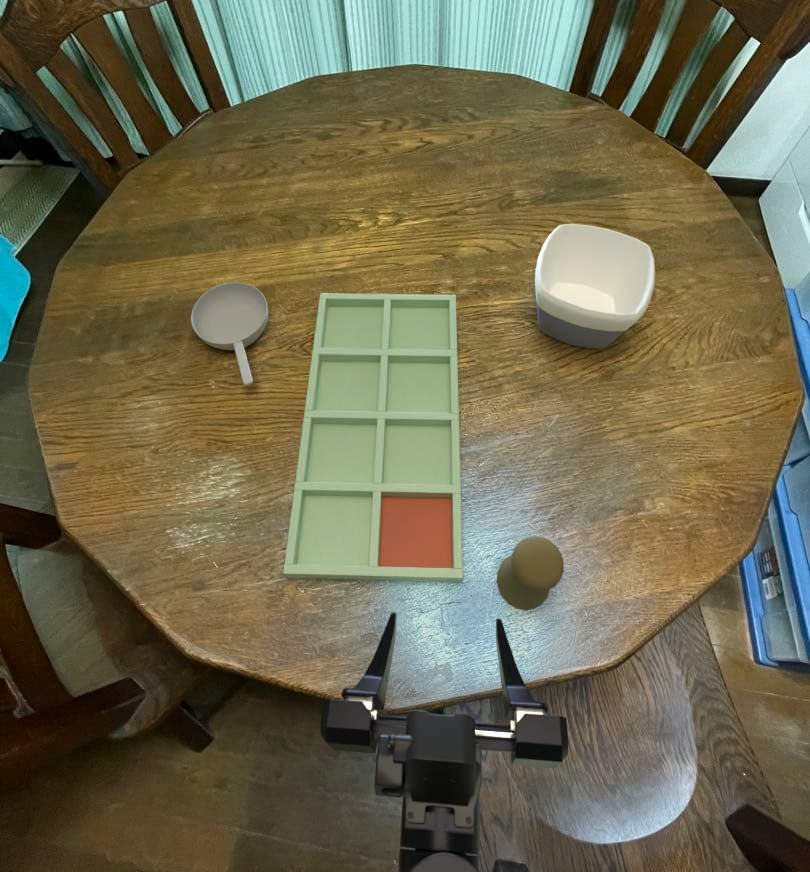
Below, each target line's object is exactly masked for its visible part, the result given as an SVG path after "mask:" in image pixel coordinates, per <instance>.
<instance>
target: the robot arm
mask: <svg viewBox="0 0 810 872" xmlns="http://www.w3.org/2000/svg"><path fill="white" fill-rule="evenodd" d="M397 618H398V616H397V612H395V611H393V612H390V615H389V618H388V620H387V623H386V625H385V627H384V630H383V632H382V635H381V637H380V640H379V642H378V644H377V647H376V650H375V652H374V655H373V657H372V659H371V661H370V663H369V665H368V667H367V668H366V670H365V673H364V674H363V676H362V677H361V679H359V681H358V682H357V684H356V685H355V686H354V687H345V688H343V689H342V691H341V694H340V696H341V697H342V699H334V698H326V699H323V705H322V711H321V719H320V736H321V737H322V739H323V740H324V742H325V744H326V745H327V746H329V747H330V748H331V749H333V750H334V751H337V752H338V751H339V752H350V753H351V752H352V753H363V754H364V753H365V754H376V761H375V771H374V772H375V773H374V785H373V787H374V793H375V796H378V797H379V796H380V797H391V798H402V802H401V803H402V804H401V818H400V820H401V822H400V823H401V824H400V836H399V837H400V838H399V847H400V848H399V853H398V869H397V870H398V872H481V856H480V855H481V818H480V817H481V808H480V807H481V805H480V804H481V802H480V801H481V798H480V797H481V796H480V795H481V794H480V793H481V792H480V791H481V787H482V779H483V778H482V752H491V753H492V752H493V753H506V754H510V762H511V766H520V767H521V766H522V767H533V768H534V767H535V768H544V769H545V768H547V769H556V768H557V767H558V766H559V765H560V764H562V763H563V762H564V760H565V759H566V758H567V756H568V755H569V747H570V746H569V745H570V743H569V731H568V723H567V721H568V720H567V716H561V715H553V714H547V713H548V712H549V708H548V703H546V702H544V701H536V700H535V699H534V697H533V696H532V694H531V692H530V691H529V689H528V687H527V686H526V684H525V681H524V679H523V677H522V675H521V672H520V670H519V668H518V666H517V662H516V659H515V657H514V653H513V651H512V648H511V645H510V641H509V639H508V636H507V633H506V631H505V630H506V629H505V626H504V624H503V621H502V618H498V617H497V618H496V619H495V644H496V645H495V646H496V652H497V661H498V668H499V677H500V684H501V693H502V701H503V709H504V716H505V720H508V721H509V722H508V724H502V723H501V724H500V723H490V722H489V723H488V722H476V720H475V719H474V717H473V716H471V715H470V714H468V713H464V712H455V713H453V714H452V715H451V714H439V713H438V714H437V713H430V712H429V711H427V710H423V709H416V710H412V711H410V712H408V714H407V716H397V715H393V716H392V715H384V714H383V715H382V714H380V712H379V711H385V705H386V699H387V693H388V685H389V680H390V673H391V667H392V661H393V655H394V650H395V649H394V648H395V644H396V643H395V642H396V637H397Z"/></svg>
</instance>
